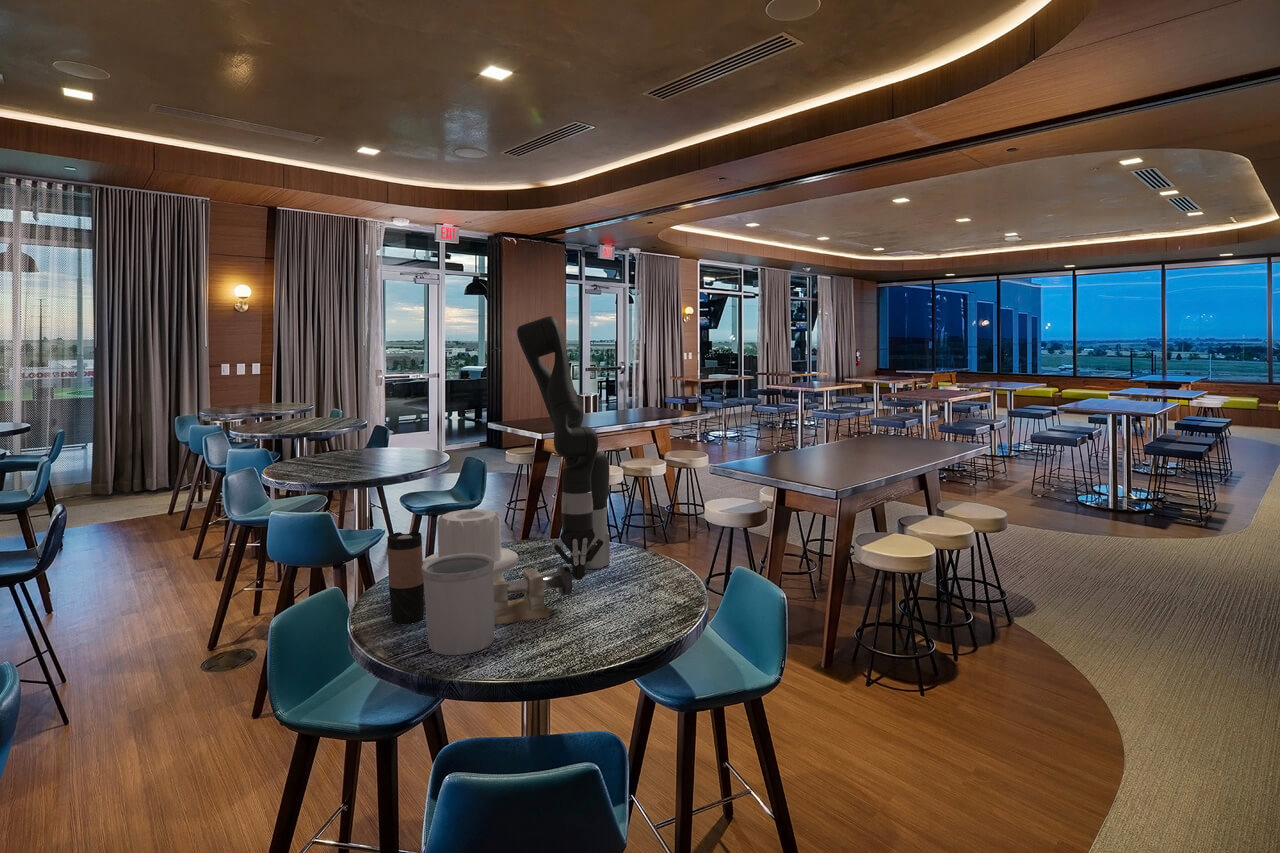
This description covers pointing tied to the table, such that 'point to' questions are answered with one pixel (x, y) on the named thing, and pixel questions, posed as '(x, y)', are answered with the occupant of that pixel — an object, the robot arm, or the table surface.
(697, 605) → the table surface
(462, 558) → the utensil holder
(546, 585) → the shaft
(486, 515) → the ribbed cylinder on disc
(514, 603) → the block
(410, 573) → the travel mug
